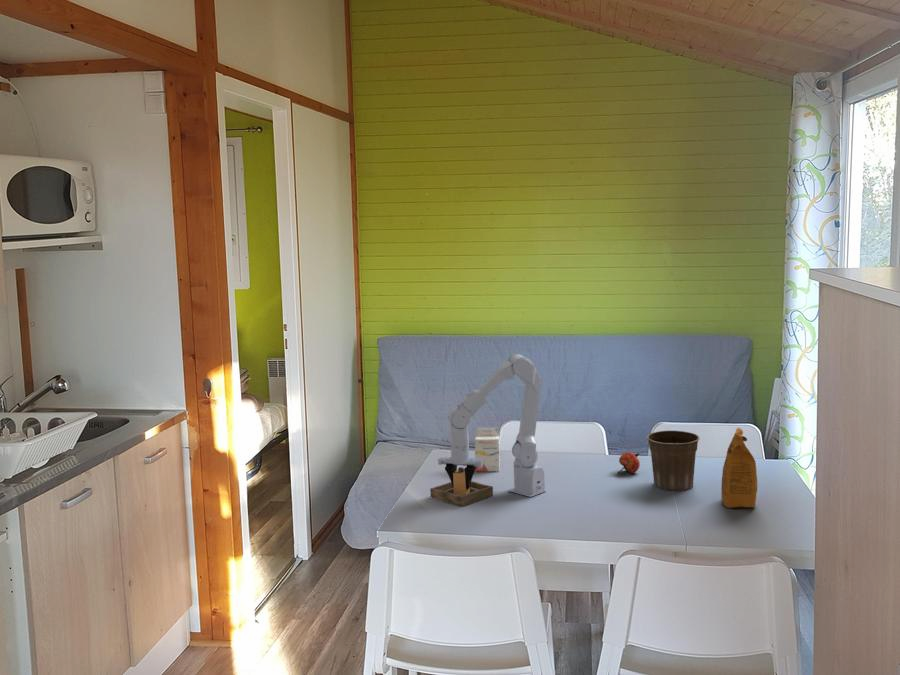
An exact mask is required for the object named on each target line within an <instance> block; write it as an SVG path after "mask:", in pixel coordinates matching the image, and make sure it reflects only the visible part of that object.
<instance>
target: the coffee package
mask: <svg viewBox="0 0 900 675" xmlns="http://www.w3.org/2000/svg"><path fill="white" fill-rule="evenodd" d="M734 432H735V433H734V434H733V436H732V439H731V441H730V443H729V445H728V447H727V451H726V456H725V459H724V463H723V467H722V474H721V475H722V476H721V489H720V490H721V494H720V495H721V501H722V503H723V505H724V506H725V508H728V509H733V508H735V509H736V508H755V507H756V501H757V492H758V473H757V464H756V463H757V462H756V460H755V458H754V455H753V454H752V453H751V451H750V449H749V448H748V447H747V446H746V444H745V442H747V441H748V439H747V437H746V436H744V435H743V433H744V430H742V429H741V427H737V428H736V429H735V431H734Z"/></svg>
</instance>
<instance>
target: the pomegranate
mask: <svg viewBox="0 0 900 675" xmlns="http://www.w3.org/2000/svg"><path fill="white" fill-rule="evenodd" d="M639 456H640V453H639V452H637V453H635V454H634V453H632V452H624V453H622V454H621V456H619V458H618V462H619V464H620V465H622V466H623V467H622V468H621V469H620V470H619V471H617V474H618V475H619V473H621V472H622V471H623V470H625V471H626V472H628V473H630V474H635V473H636V472H638V470H639V469H640V466H641V465H640V464H641V462H640V459H639Z"/></svg>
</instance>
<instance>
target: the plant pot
mask: <svg viewBox="0 0 900 675" xmlns="http://www.w3.org/2000/svg"><path fill="white" fill-rule="evenodd" d="M646 439H647V441H648V447H649V450H650V457H651V464H652V466H651V467H652V475H653V484H654V487H656V488H658V489H660V490H664V491H672V490H675V491H676V492H677V491H687V490H689V489H692V488H693V487H694V480H695V466H696V465H695V463H696V456H697V451H698V446H699V445H698V444H699V440H700V436H699V435H698V434H696V433H693V432H690V431H685V430H659V431H655V432H651V433H649V434H647V435H646Z"/></svg>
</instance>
